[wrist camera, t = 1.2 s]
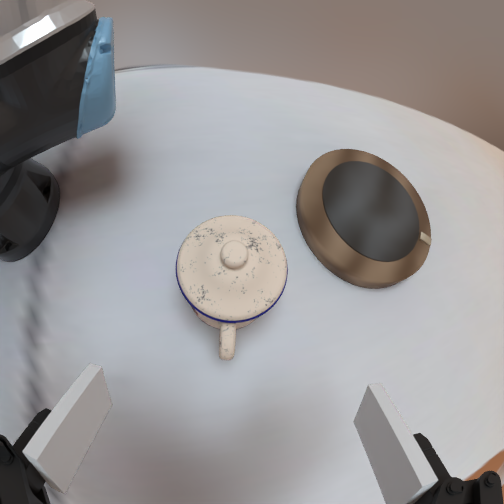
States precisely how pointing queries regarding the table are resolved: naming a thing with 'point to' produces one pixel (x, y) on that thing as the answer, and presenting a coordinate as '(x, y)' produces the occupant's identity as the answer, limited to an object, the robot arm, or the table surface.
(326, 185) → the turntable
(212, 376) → the table surface
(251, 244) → the teacup with lid
